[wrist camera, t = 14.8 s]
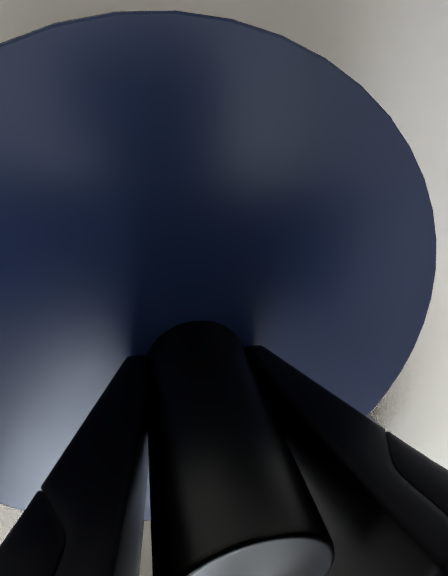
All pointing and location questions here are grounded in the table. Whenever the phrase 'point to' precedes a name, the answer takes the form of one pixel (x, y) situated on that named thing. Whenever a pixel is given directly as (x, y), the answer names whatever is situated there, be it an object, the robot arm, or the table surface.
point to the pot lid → (199, 265)
